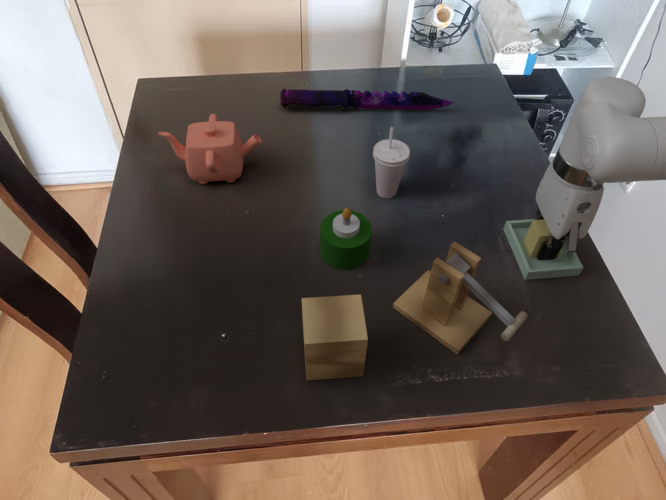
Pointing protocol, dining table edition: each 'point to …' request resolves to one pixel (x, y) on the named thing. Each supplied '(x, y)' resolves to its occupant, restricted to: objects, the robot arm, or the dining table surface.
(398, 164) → the smoothie
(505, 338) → the lever
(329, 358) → the stand
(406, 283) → the dining table surface
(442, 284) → the slicer
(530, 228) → the butter
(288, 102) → the knife
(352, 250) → the candle
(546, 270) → the butter dish
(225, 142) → the teapot
